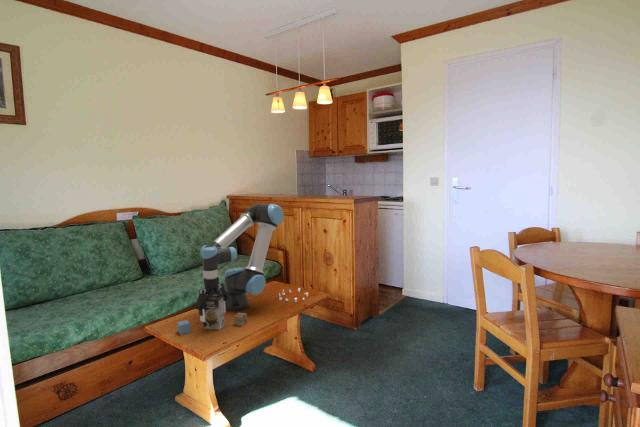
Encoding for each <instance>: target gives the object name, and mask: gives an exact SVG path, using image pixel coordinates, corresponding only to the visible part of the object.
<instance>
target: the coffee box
mask: <svg viewBox="0 0 640 427" xmlns="http://www.w3.org/2000/svg"><path fill="white" fill-rule="evenodd" d="M203 309H204V311H205V322H203V329H204V330H221V329H222V328H223V327H224V326H225V313H224V305H223V296H218V295H212V296H210V297H209V298H208V300H207V302H206V304H205V306H204V308H203Z"/></svg>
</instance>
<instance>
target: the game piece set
mask: <svg viewBox="0 0 640 427" xmlns="http://www.w3.org/2000/svg"><path fill="white" fill-rule="evenodd" d="M297 292H299V293H301V287H298V288H297ZM289 293H292V290H289ZM281 294H282V295H283V296H284V295H285V294H286V293H285V290H284V288H283V289H282V292H281V293H278V295H279V296H278V297H279V298H278V299H279V301H282V300H283V297H281V296H282V295H281ZM304 295H306V297H309V292H308V291H307V292H304ZM297 300H298V297H294V303H296V302H298V301H297ZM302 300H303V301H304V300H305V297H304V296H303V297H302ZM288 301H289V299H288V298H285V302H288Z"/></svg>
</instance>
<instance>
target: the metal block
mask: <svg viewBox="0 0 640 427" xmlns="http://www.w3.org/2000/svg"><path fill="white" fill-rule="evenodd" d="M247 323H248V314H247V313H244V312H237V313H236V314H235V315H233V325H234V326H239V327H244V326H245V325H246V324H247Z"/></svg>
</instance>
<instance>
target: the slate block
mask: <svg viewBox="0 0 640 427" xmlns="http://www.w3.org/2000/svg"><path fill="white" fill-rule="evenodd" d="M176 325H177V332H178V334H179V335H180V336H182V335H186V334H189V333H192V332H191V322H190V321H189V320H188V319H185V320H182V321H177V322H176Z"/></svg>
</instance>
